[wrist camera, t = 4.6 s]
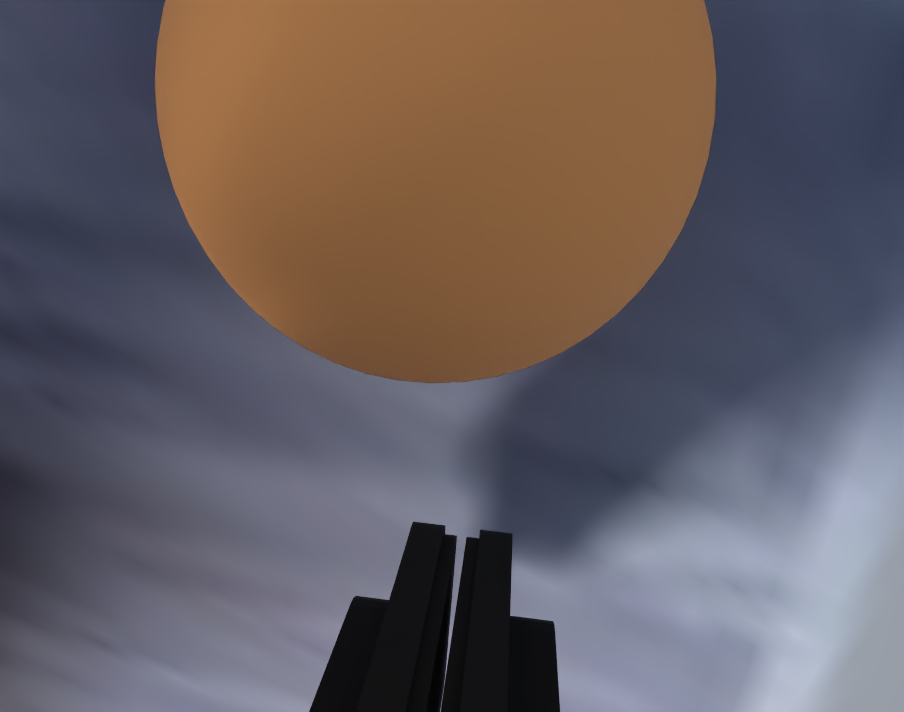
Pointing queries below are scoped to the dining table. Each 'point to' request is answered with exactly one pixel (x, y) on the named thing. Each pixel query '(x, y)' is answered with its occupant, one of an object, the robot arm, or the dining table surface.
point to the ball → (436, 166)
